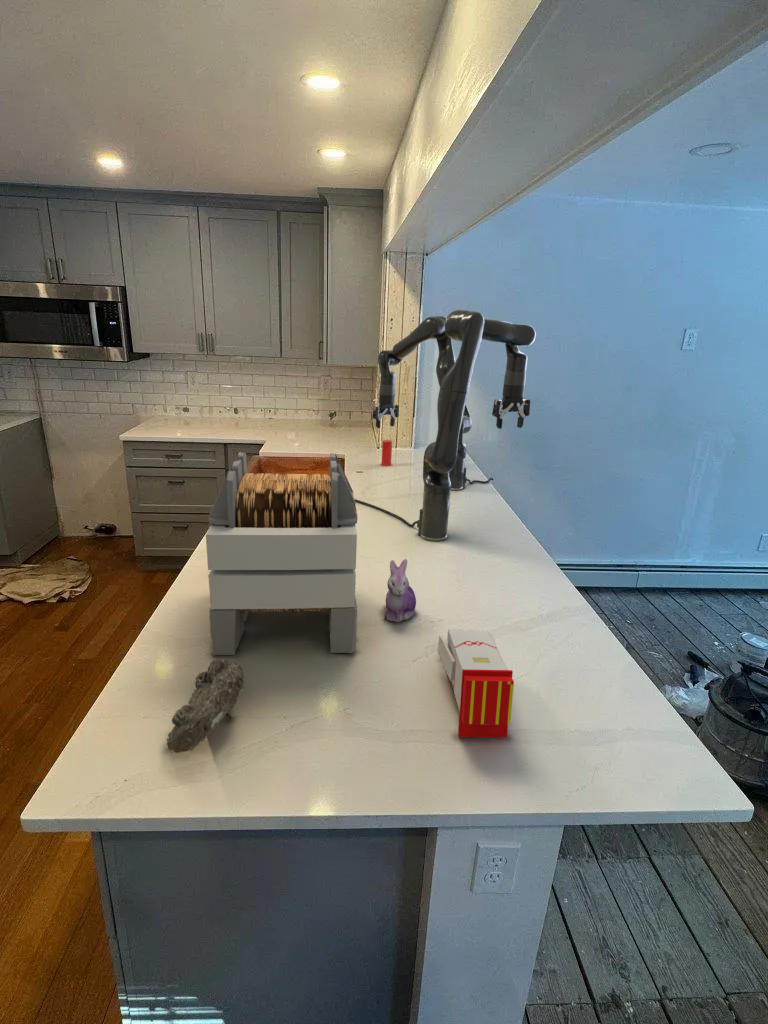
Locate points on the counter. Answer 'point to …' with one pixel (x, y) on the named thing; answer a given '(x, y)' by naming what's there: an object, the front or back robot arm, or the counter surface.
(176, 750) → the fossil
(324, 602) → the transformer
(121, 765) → the counter surface
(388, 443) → the canister
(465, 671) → the toy
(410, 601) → the figurine
